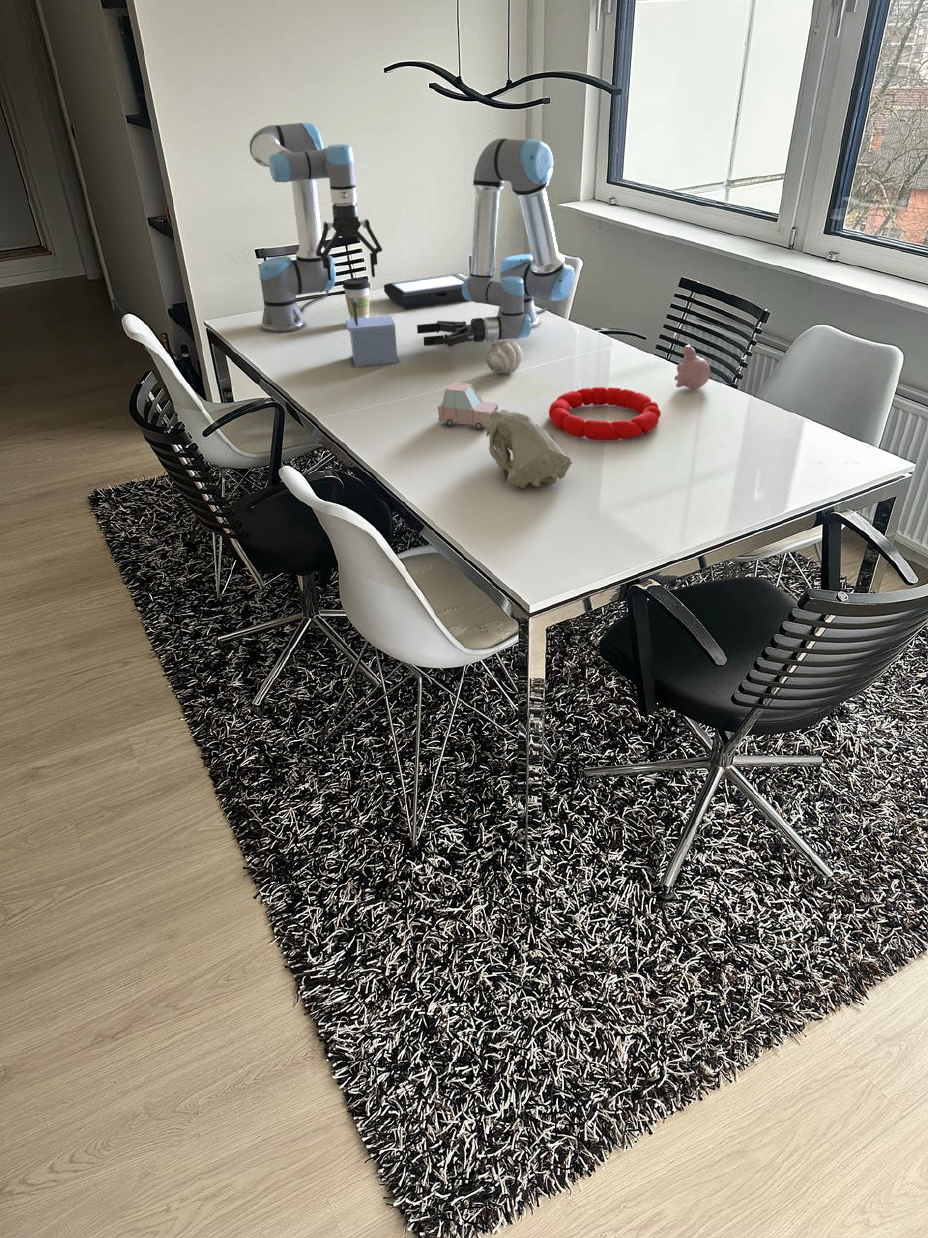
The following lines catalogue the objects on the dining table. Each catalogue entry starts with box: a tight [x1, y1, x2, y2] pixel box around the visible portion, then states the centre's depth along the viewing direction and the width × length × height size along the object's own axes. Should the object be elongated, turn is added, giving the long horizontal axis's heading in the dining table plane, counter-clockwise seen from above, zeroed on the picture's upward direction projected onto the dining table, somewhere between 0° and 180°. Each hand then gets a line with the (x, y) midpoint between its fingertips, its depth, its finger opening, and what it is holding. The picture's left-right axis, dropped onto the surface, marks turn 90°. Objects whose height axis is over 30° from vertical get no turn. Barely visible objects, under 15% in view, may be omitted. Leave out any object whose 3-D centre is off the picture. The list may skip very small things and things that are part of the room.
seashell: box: [485, 340, 523, 374], centre depth 276 cm, size 10×15×10 cm
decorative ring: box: [548, 386, 661, 442], centre depth 242 cm, size 7×30×30 cm
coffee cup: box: [342, 277, 371, 319], centre depth 323 cm, size 10×10×15 cm
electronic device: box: [383, 273, 467, 311], centre depth 349 cm, size 32×6×20 cm
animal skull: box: [485, 409, 573, 489], centre depth 216 cm, size 17×25×20 cm
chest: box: [349, 327, 398, 367], centre depth 290 cm, size 14×10×11 cm
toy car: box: [437, 382, 499, 431], centre depth 243 cm, size 9×15×10 cm, turn 70°
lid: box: [345, 298, 396, 333], centre depth 284 cm, size 15×10×8 cm
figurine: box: [674, 344, 711, 390], centre depth 259 cm, size 9×11×12 cm
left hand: (351, 277), depth 277 cm, fingers open, 13 cm apart
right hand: (420, 335), depth 291 cm, fingers open, 13 cm apart
